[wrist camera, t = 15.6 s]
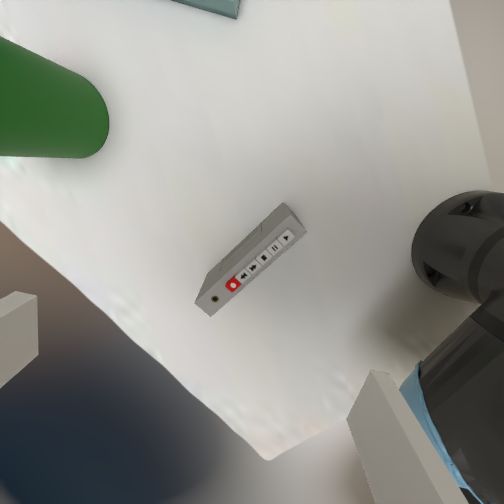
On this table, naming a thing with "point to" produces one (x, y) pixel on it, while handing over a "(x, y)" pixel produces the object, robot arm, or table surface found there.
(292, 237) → the cassette player
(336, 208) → the table surface
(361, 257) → the table surface
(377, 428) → the robot arm
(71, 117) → the motor
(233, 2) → the tray
